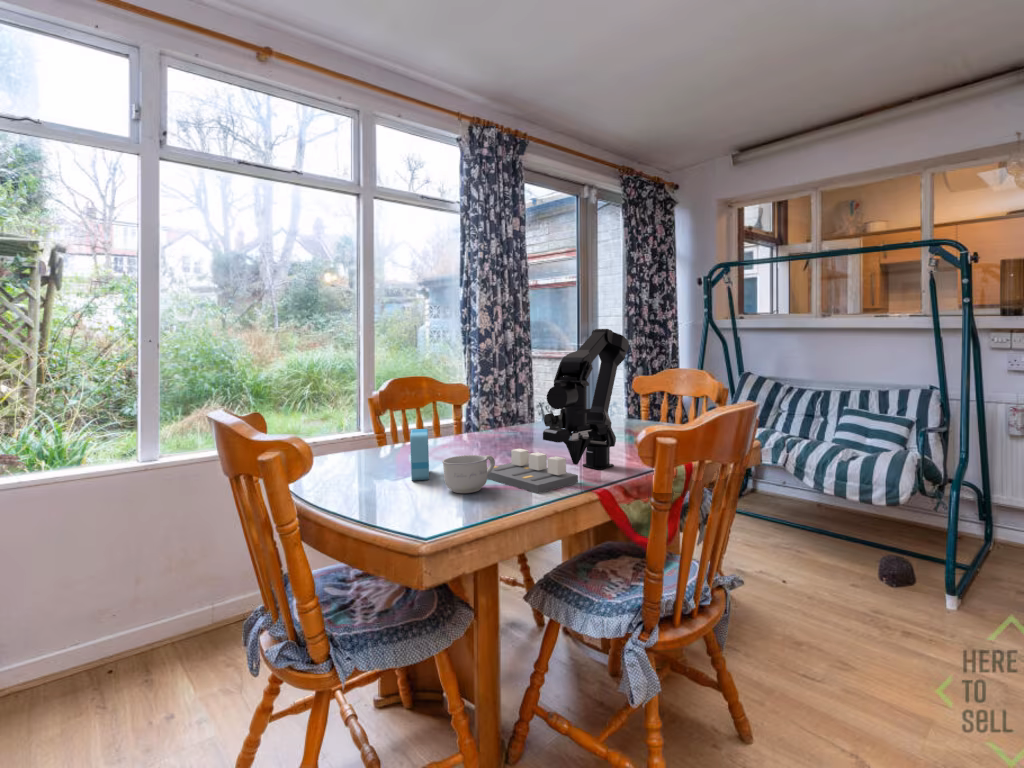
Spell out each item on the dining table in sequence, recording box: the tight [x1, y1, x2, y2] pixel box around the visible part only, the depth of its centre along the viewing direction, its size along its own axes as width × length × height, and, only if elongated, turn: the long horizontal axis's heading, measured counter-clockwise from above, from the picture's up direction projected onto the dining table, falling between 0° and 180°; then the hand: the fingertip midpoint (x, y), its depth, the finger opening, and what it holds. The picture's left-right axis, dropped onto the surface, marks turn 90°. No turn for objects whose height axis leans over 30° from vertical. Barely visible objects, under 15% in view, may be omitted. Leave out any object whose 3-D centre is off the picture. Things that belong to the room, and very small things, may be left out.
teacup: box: [442, 454, 496, 494], centre depth 141 cm, size 14×11×8 cm
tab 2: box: [547, 455, 567, 475], centre depth 146 cm, size 3×4×4 cm
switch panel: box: [487, 462, 579, 494], centre depth 150 cm, size 14×22×2 cm, turn 41°
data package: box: [409, 428, 430, 482], centre depth 155 cm, size 12×4×12 cm, turn 8°
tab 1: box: [510, 448, 529, 466], centre depth 157 cm, size 3×4×4 cm
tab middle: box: [528, 451, 548, 470], centre depth 152 cm, size 3×4×4 cm
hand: (575, 464), depth 151 cm, fingers closed
